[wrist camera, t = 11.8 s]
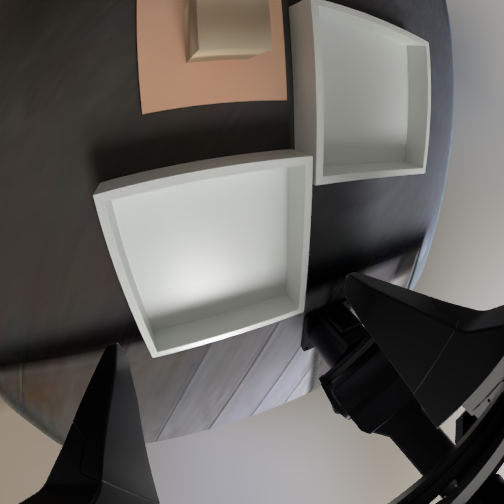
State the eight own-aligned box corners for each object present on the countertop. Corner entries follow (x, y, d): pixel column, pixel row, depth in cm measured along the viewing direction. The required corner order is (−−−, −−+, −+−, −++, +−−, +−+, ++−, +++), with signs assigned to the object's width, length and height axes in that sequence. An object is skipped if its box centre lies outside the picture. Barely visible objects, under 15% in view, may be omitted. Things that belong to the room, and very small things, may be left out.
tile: (283, 100, 18) (287, 100, 17) (142, 114, 15) (142, 114, 14) (276, -13, 13) (279, -16, 12) (137, -14, 10) (137, -17, 9)
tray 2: (404, 165, 26) (425, 173, 23) (294, 175, 21) (315, 185, 19) (406, 42, 18) (428, 42, 16) (288, 7, 14) (310, -4, 12)
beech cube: (245, 59, 15) (272, 49, 12) (186, 62, 14) (198, 49, 11) (242, 10, 13) (268, -9, 10) (183, 11, 12) (196, -13, 8)
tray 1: (288, 293, 27) (303, 312, 25) (149, 333, 23) (152, 358, 21) (291, 149, 20) (312, 156, 18) (99, 182, 16) (92, 195, 13)
